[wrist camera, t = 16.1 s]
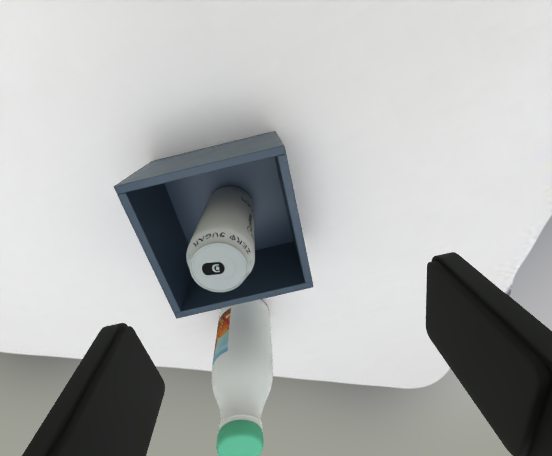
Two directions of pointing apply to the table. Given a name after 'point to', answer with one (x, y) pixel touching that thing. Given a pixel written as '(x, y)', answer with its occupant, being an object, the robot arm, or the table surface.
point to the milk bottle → (242, 376)
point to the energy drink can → (223, 241)
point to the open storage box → (189, 207)
